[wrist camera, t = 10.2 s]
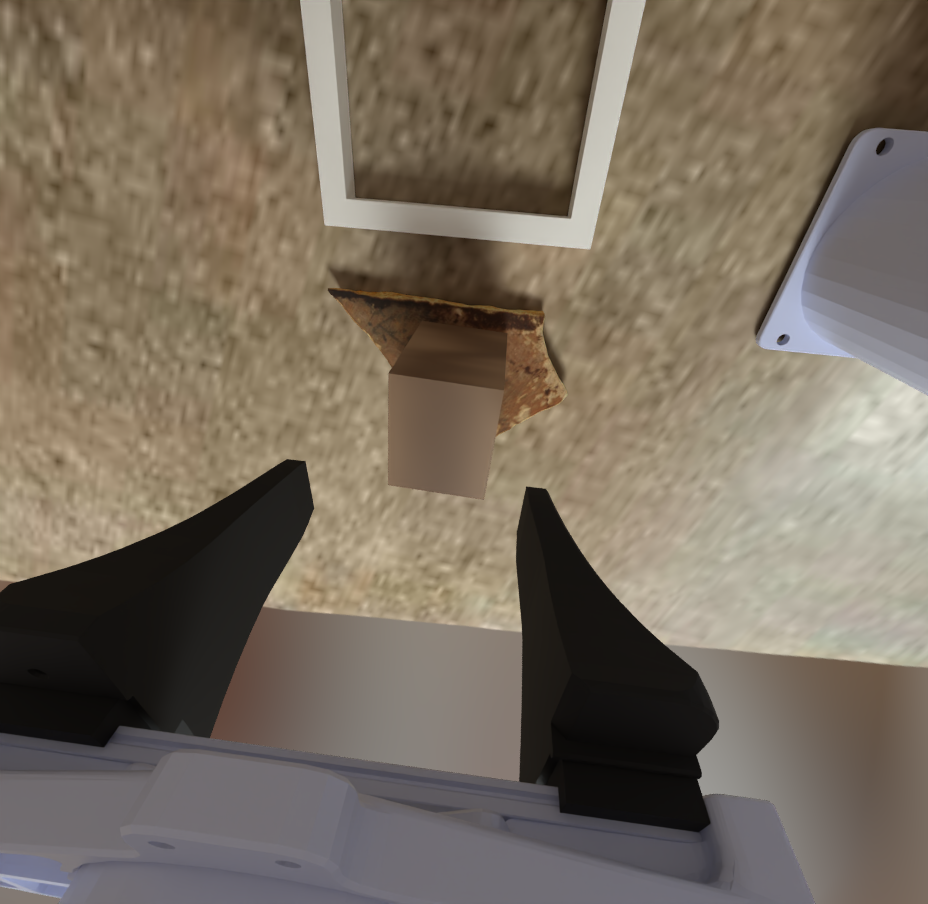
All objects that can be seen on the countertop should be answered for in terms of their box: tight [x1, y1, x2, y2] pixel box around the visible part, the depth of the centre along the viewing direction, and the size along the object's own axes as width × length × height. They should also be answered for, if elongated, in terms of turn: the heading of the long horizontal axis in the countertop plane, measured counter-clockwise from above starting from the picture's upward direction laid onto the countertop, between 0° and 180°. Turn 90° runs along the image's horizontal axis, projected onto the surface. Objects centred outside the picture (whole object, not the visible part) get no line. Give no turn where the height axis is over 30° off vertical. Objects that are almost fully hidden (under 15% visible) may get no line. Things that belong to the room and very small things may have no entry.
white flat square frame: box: [300, 0, 646, 249], centre depth 14 cm, size 11×11×1 cm
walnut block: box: [388, 321, 508, 500], centre depth 18 cm, size 4×5×6 cm
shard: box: [328, 288, 567, 437], centre depth 20 cm, size 11×8×2 cm
